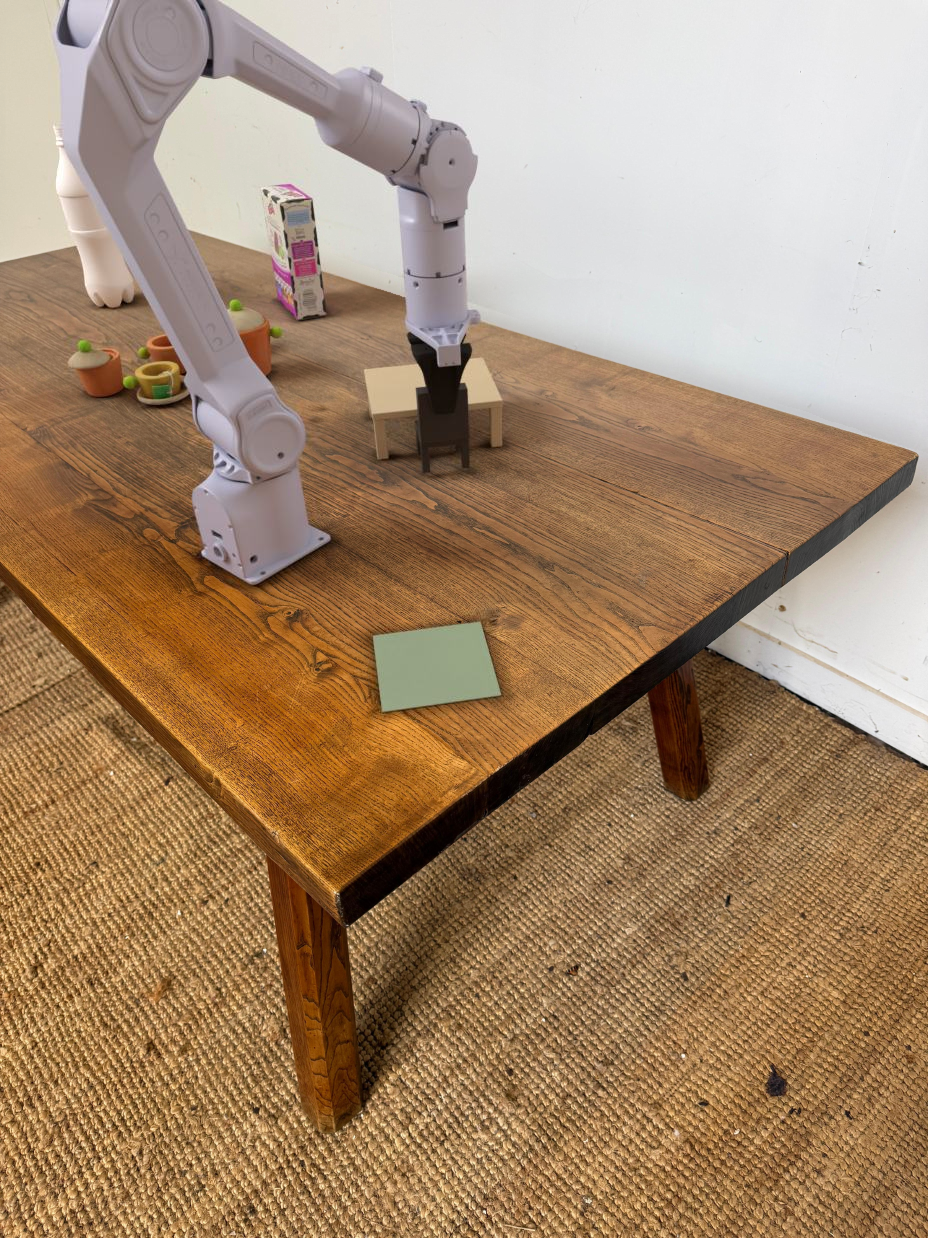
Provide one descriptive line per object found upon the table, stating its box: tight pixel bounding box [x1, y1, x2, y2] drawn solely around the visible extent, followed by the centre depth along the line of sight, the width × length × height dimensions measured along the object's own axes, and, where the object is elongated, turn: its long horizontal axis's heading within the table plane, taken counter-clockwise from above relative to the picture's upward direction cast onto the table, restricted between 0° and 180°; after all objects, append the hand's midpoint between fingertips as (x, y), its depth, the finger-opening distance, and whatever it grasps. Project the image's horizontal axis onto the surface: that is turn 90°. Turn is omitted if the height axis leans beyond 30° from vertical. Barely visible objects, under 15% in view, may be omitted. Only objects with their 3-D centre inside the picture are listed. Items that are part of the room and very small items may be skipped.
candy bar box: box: [260, 183, 328, 321], centre depth 130 cm, size 11×5×16 cm, turn 25°
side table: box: [363, 357, 504, 460], centre depth 99 cm, size 12×14×6 cm
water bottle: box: [52, 123, 135, 309], centre depth 132 cm, size 7×7×25 cm
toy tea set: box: [67, 299, 283, 406], centre depth 112 cm, size 26×16×10 cm, turn 126°
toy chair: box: [414, 383, 471, 474], centre depth 91 cm, size 5×5×9 cm
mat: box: [372, 621, 502, 714], centre depth 69 cm, size 9×9×1 cm
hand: (442, 407), depth 88 cm, fingers closed on toy chair
